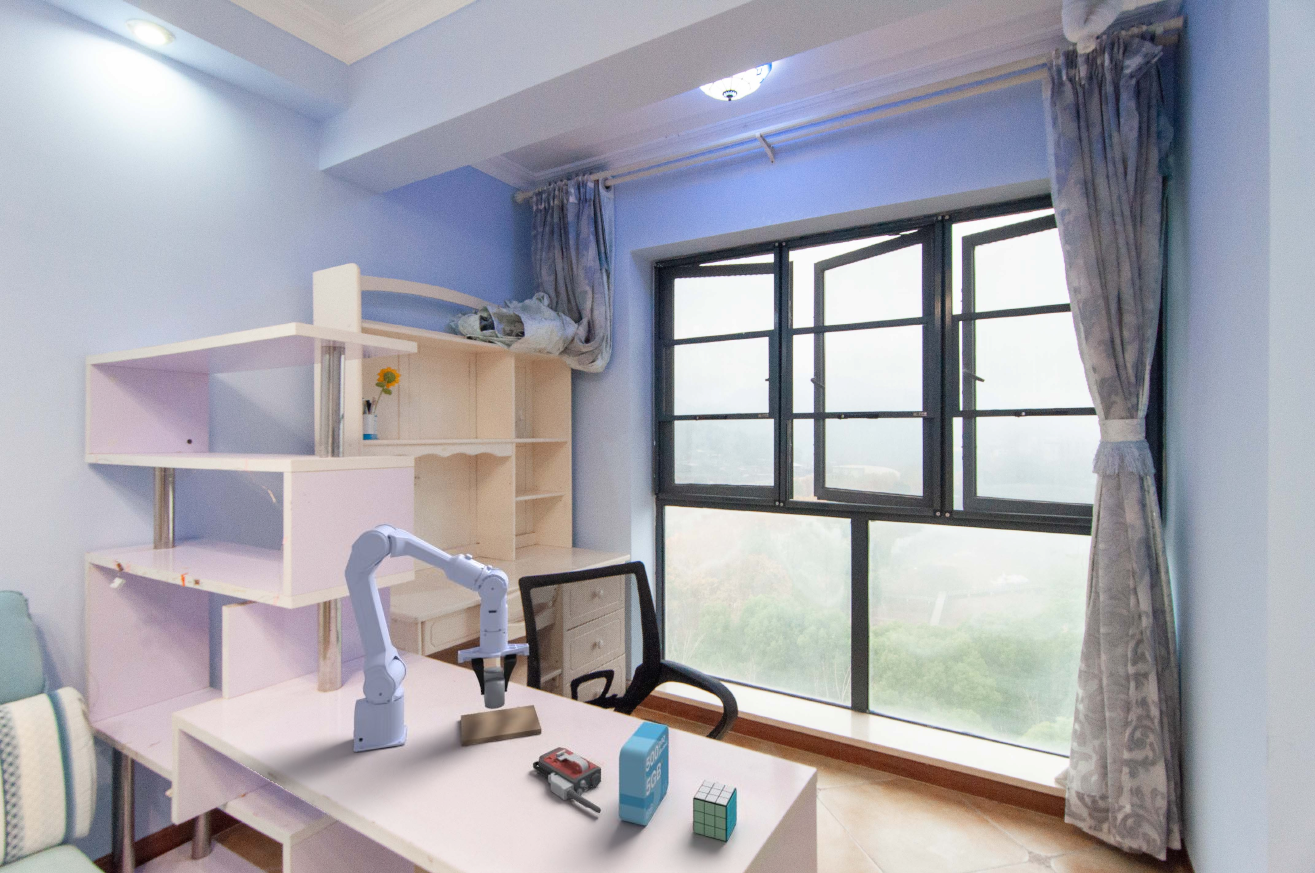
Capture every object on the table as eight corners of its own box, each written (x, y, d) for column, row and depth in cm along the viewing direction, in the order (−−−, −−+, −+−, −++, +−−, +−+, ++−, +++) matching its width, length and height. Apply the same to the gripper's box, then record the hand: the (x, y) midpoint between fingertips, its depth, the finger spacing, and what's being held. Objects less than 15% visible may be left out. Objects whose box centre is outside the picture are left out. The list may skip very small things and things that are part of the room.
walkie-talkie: (522, 776, 112) (594, 822, 98) (522, 752, 112) (594, 795, 99) (560, 757, 118) (632, 799, 105) (560, 735, 118) (632, 773, 105)
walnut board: (462, 745, 122) (462, 740, 122) (460, 719, 134) (460, 715, 134) (541, 733, 128) (541, 728, 128) (533, 709, 139) (533, 704, 139)
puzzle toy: (727, 842, 93) (726, 806, 93) (692, 833, 96) (692, 797, 96) (737, 821, 98) (737, 786, 98) (704, 812, 101) (704, 778, 101)
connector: (485, 709, 123) (485, 685, 123) (482, 685, 135) (482, 663, 135) (505, 707, 124) (505, 682, 124) (500, 683, 136) (500, 661, 136)
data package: (644, 830, 96) (644, 755, 96) (618, 823, 98) (618, 749, 98) (669, 789, 107) (669, 722, 107) (645, 784, 109) (645, 717, 109)
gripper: (458, 637, 122) (458, 704, 122) (530, 629, 127) (530, 694, 127) (458, 626, 129) (457, 690, 129) (526, 620, 134) (526, 681, 134)
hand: (493, 691), depth 129 cm, fingers closed on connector, 4 cm apart
